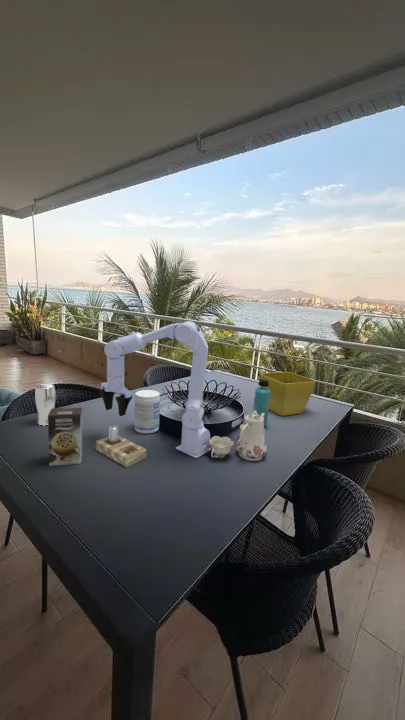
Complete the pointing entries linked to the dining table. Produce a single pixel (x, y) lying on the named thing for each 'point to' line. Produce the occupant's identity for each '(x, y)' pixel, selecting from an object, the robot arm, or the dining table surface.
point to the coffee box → (65, 436)
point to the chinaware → (244, 440)
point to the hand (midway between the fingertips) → (115, 412)
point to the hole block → (121, 451)
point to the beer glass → (44, 401)
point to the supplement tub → (147, 411)
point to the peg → (113, 435)
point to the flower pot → (288, 392)
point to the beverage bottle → (262, 399)
